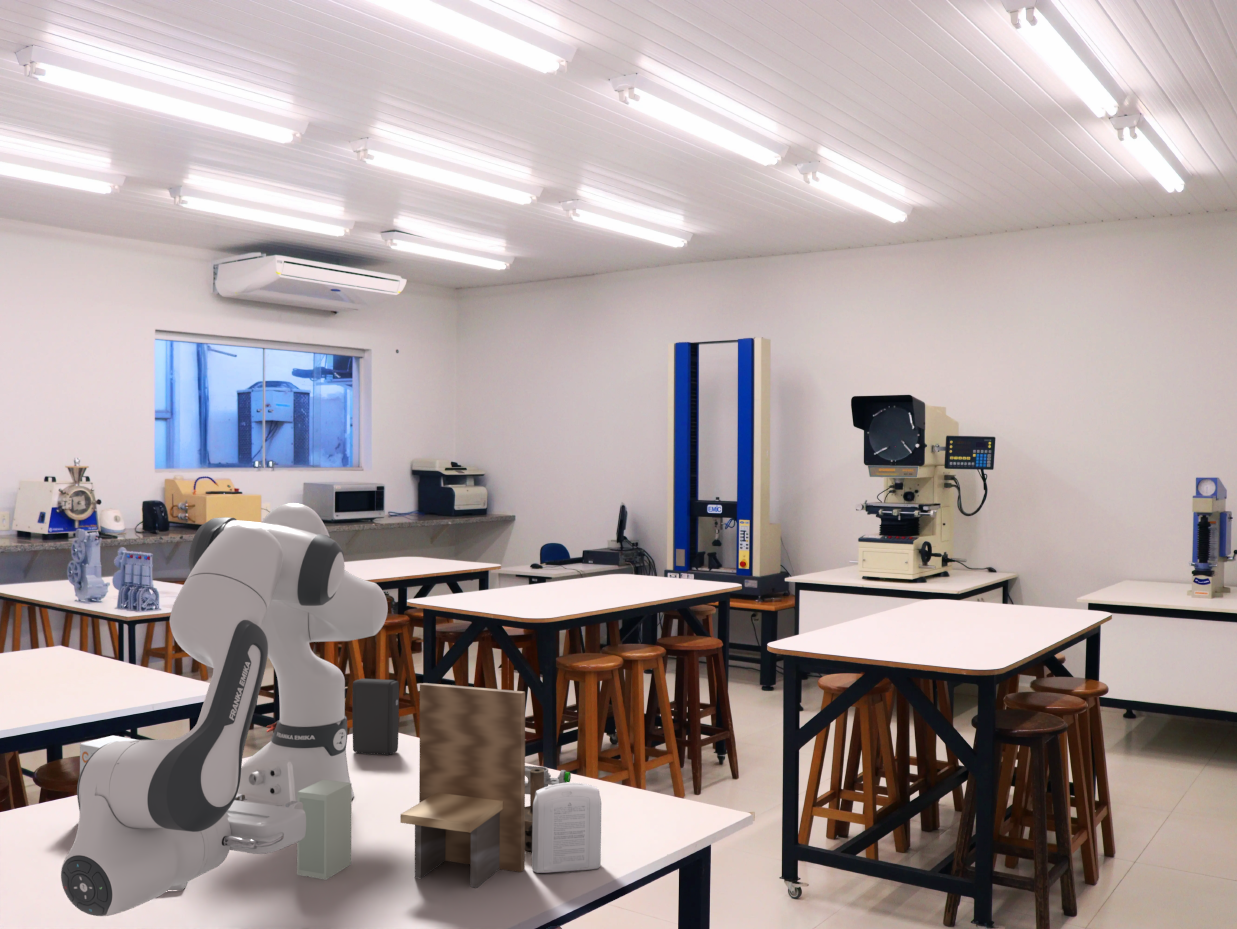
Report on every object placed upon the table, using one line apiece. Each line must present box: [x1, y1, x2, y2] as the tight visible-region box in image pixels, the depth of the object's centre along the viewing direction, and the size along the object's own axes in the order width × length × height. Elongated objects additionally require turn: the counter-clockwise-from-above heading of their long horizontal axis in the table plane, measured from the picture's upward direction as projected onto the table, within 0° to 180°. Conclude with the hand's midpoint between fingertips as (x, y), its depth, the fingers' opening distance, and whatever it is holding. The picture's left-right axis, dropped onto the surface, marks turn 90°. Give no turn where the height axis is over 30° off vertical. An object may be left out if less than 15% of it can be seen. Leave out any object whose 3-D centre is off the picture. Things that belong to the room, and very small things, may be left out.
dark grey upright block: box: [351, 678, 400, 756], centre depth 205 cm, size 9×4×15 cm, turn 79°
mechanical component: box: [525, 765, 572, 795], centre depth 161 cm, size 3×10×10 cm, turn 78°
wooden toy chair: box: [399, 682, 526, 889], centre depth 143 cm, size 17×11×26 cm, turn 70°
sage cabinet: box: [296, 780, 353, 881], centre depth 145 cm, size 5×6×12 cm
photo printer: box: [531, 782, 602, 874], centre depth 146 cm, size 10×4×12 cm, turn 103°
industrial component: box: [525, 768, 544, 852], centre depth 153 cm, size 9×7×12 cm
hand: (269, 803), depth 134 cm, fingers open, 8 cm apart
